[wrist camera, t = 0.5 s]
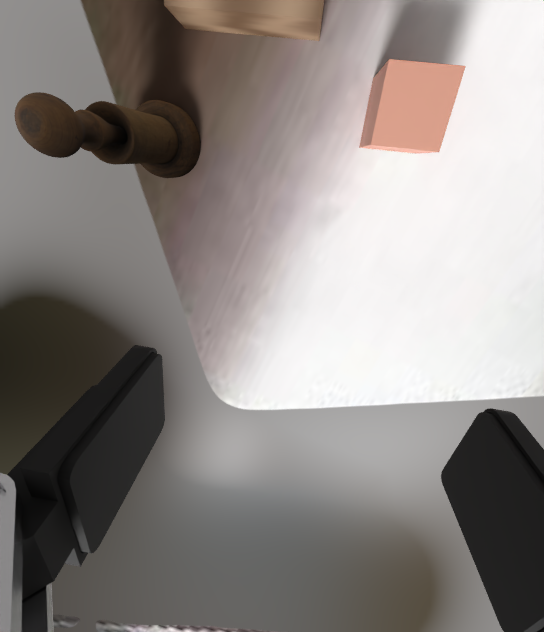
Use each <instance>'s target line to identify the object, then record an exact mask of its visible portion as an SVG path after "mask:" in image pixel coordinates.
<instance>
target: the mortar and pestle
mask: <svg viewBox="0 0 544 632" xmlns="http://www.w3.org/2000/svg"><path fill="white" fill-rule="evenodd" d="M15 121H16V125H17V128H18V130H19V132H20V134H21V135H22V136H23V138H24V139H25V140H26V142H27V143H29V144H30V145H31V146H32V147H33V148H34V149H36V150H38V151H39V152H41V153H43V154H46V155H48V156H52V157H59V158H61V157H68V156H71V155H73V154H74V153H76V152H77V151H78V150H79V149H80V147H81V148H83V149H84V150H87V151H91V152H92V153H93V154H94V155H95V156H96V157H98V158H99V159H100V160H102V161H104V162H106V163H110V164H138V163H140V164H141V165H142V166H143V167H144V168H145V169H146V170H148V171H149V172H150V173H152V174H154V175H156V176H159V177H163V178H174V177H180V176H183V175H185V174H187V173H189V172H190V171H191V170H192V169H193V168H194V166H195V165H196V163H197V161H198V158H199V155H200V138H199V134H198V131H197V128H196V126H195V124H194V122H193V121H192V119H191V118H190V116H189V115H188V114H187V113H186V112H185V111H184V110H182V109H181V108H179V107H178V106H176V105H174V104H171V103H168V102H165V101H161V100H150V101H147V102H145V103H143V104H141V105H140V106H139V107H138V108H137V109H136V110H133V109H129V108H126V107H123V106H119V105H116V104H112V103H109V102H105V101H99V102H95V103H93V104H91V105H89V106H88V107H87V108H86V109H85V110H78V111H76V112H74V110H73V109H72V108H71V107H70V106H69V105H68V104H66V103H65V102H64V101H62V100H61V99H59V98H57V97H55V96H53V95H50V94H47V93H31V94H28V95H26V96H24V97H23V98H22V99H21V100H20V101H19V102H18V104H17V106H16V109H15Z"/></svg>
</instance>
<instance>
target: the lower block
mask: <svg viewBox="0 0 544 632" xmlns="http://www.w3.org/2000/svg"><path fill="white" fill-rule="evenodd" d="M164 6H165V7H166V8H167V9H168V10H169V11H170V12H171V13H172V15H173V16H174V17H175V18H176V19H177V20H178V21H179V22H180V23H181V24H182V25H183V27H184V28H185V29H193V30H204V31H215V32H226V33H238V34H249V35H260V36H271V37H282V38H293V39H304V40H316V41H319V38H320V30H321V23H322V15H323V7H324V0H164Z"/></svg>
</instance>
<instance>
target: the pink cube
mask: <svg viewBox="0 0 544 632" xmlns="http://www.w3.org/2000/svg"><path fill="white" fill-rule="evenodd" d="M464 70H465V66H460V65H449V64H438V63H427V62H416V61H405V60H394V59H389V60H388V61H387V62H386V63H385V65H384V66H383V67H382V68H381V70H380V71H379V72H378V73H377V74H376V76H375V77H374V78H373V82H372V87H371V92H370V97H369V102H368V107H367V112H366V117H365V122H364V127H363V132H362V137H361V142H360V147H359V148H368V149H378V150H387V151H397V152H407V153H431V152H439V151H440V147H441V144H442V141H443V138H444V135H445V131H446V128H447V125H448V122H449V118H450V115H451V112H452V109H453V105H454V102H455V99H456V96H457V92H458V89H459V86H460V83H461V79H462V76H463V73H464Z"/></svg>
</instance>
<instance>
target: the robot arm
mask: <svg viewBox="0 0 544 632" xmlns="http://www.w3.org/2000/svg"><path fill="white" fill-rule="evenodd" d="M164 414H165V413H164V392H163V369H162V356H161V355H160V354H157V351H156V349H154V348H149V347H144V346H138V345H135V346H134V347H132V348H131V349H130V350H129V351H128V352H127V353H126V354H125V356H124V357H123V358H122V359H121V360H120V361H119V362H118V363H117V364H116V365H115V366H114V367H113V368H112V369H111V371H110V372H109V373H108V374H107V375H106V376H105V377H104V378H103V379H102V380H101V381H100V382H99V383H98V385H95V386H92V387H91V388H90V389H89V390H88V391H86V393H85V394H84V395H83V396H82V397H81V398H80V399H79V400H78V401H77V402H76V403H75V404H74V405H73V406H72V407H71V408H70V409H69V410H68V411H67V412H66V414H65V415H64V416H63V417H62V418H61V419H60V420H59V421H58V422H57V423H56V424H55V425H54V426H53V427H52V428H51V429H50V431H48V433H47V434H45V436H44V437H43V438H42V439H41V440H40V441H39V442H38V443H37V444H36V445H35V446H34V447H33V448H32V449H31V450H30V451H29V452H28V453H27V454H26V455H25V457H24V458H23V459H22V460H21V461H20V462H19V463H18V464H17V465H16V466H15V467H14V468H13V469H12V470H11V471H10V472H9V473H8V474H7V475H5V474H2V473H0V632H53V611H52V590H51V589H52V587H51V582H53V581H54V580H55V578H56V577H57V575H58V573H59V572H60V570H61V568H62V567H63V565H64V563H65V564H70V565H75V566H81V565H82V563H83V561H84V559H85V557H86V556H87V554H88V553H94V552H95V551H96V550H97V548H98V547H99V545H100V544H101V542H102V540H103V538H104V536H105V534H106V532H107V531H108V529H109V527H110V525H111V523H112V521H113V519H114V517H115V516H116V514H117V512H118V510H119V508H120V506H121V505H122V503H123V501H124V499H125V497H126V495H127V494H128V492H129V490H130V488H131V486H132V484H133V482H134V481H135V479H136V477H137V475H138V473H139V471H140V469H141V468H142V466H143V464H144V462H145V460H146V458H147V457H148V455H149V453H150V451H151V449H152V447H153V446H154V444H155V442H156V440H157V438H158V436H159V434H160V433H161V431H162V428H163V425H164V421H165V415H164ZM441 479H442V483H443V486H444V489H445V491H446V494H447V496H448V499H449V501H450V503H451V506H452V508H453V511H454V513H455V516H456V518H457V520H458V523H459V526H460V528H461V530H462V533H463V535H464V537H465V540H466V543H467V545H468V547H469V550H470V552H471V555H472V557H473V560H474V562H475V565H476V567H477V570H478V572H479V574H480V577H481V579H482V582H483V584H484V587H485V589H486V592H487V594H488V597H489V599H490V601H491V604H492V606H493V609H494V611H495V614H496V616H497V619H498V621H499V624H500V626H501V628H502V630H503V631H504V632H544V449H543V448H542V447H541V446H540V445H539V443H538V442H537V441H536V439H535V438H534V437H533V436H532V435H531V433H530V432H529V431H528V430H527V428H526V427H525V426H524V424H523V423H522V422H521V421H520V419H519V418H518V417H517V416H516V415H515V414H514V413H511V412H508V411H502V410H496V409H487V410H485V411H484V412H481V413H479V414H478V415H477V417H476V418H475V420H474V422H473V423H472V425H471V426H470V428H469V429H468V431H467V433H466V434H465V436H464V437H463V439H462V440H461V442H460V443H459V445H458V447H457V448H456V450H455V451H454V453H453V454H452V456H451V458H450V459H449V461H448V462H447V464H446V466H445V467H444V469H443V471H442V474H441Z"/></svg>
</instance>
